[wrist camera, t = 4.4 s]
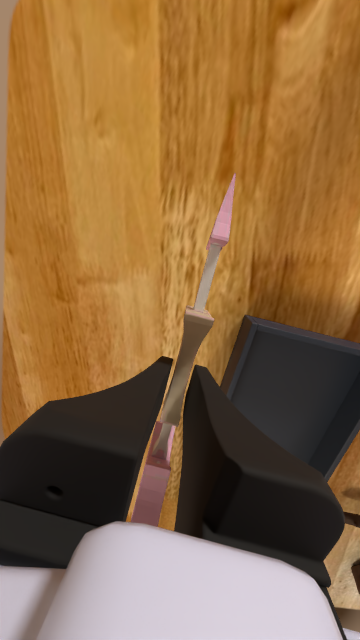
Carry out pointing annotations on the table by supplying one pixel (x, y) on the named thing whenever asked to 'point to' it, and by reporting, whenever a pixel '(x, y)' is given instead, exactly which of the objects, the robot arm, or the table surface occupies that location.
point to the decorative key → (180, 378)
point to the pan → (297, 389)
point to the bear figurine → (356, 520)
